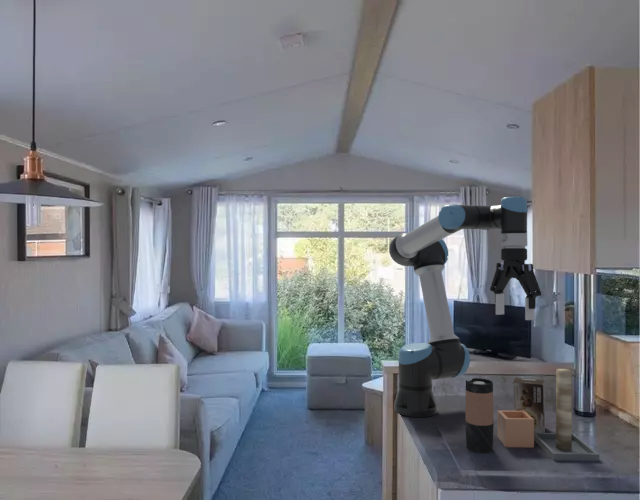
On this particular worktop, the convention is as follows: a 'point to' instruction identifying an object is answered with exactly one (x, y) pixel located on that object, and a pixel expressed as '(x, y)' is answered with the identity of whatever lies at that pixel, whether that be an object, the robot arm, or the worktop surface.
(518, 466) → the worktop surface
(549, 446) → the tray
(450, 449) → the worktop surface
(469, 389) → the travel mug
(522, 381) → the coffee box
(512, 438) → the pot
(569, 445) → the dowel
